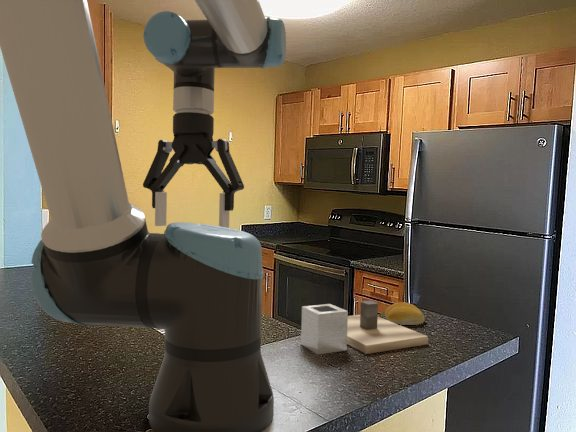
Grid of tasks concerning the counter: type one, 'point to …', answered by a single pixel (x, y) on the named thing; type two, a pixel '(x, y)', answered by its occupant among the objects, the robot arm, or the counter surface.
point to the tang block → (379, 332)
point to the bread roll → (404, 314)
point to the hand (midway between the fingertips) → (191, 227)
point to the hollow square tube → (324, 328)
